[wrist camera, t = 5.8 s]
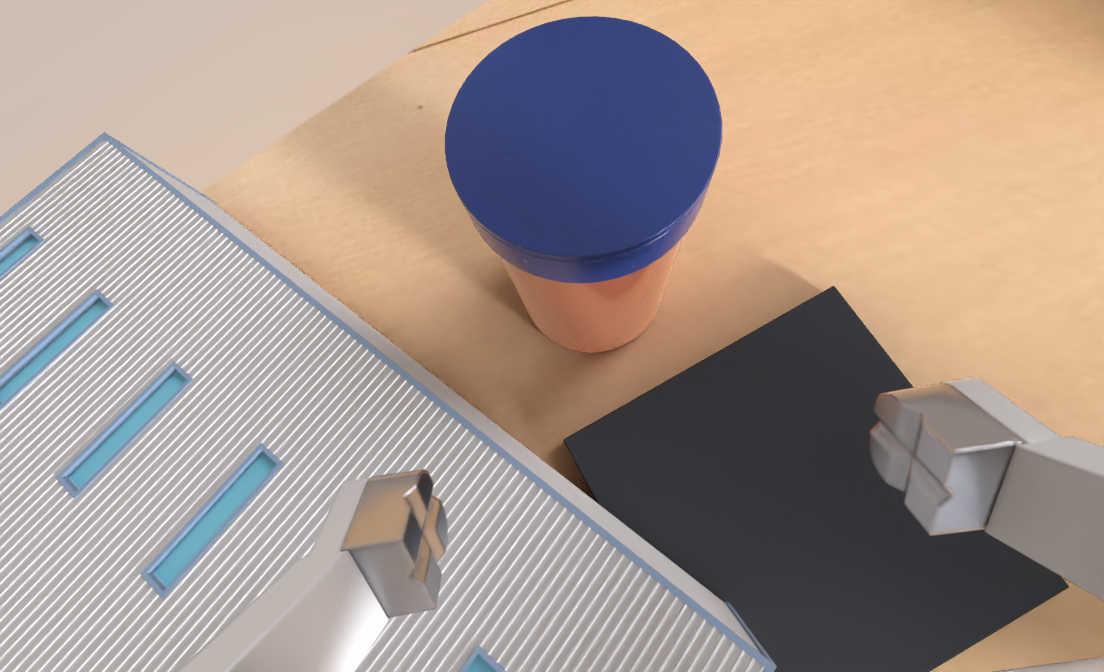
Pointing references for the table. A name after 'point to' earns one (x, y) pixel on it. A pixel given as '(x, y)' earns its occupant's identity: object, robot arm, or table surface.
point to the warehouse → (270, 459)
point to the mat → (802, 503)
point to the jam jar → (594, 305)
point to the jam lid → (584, 147)
